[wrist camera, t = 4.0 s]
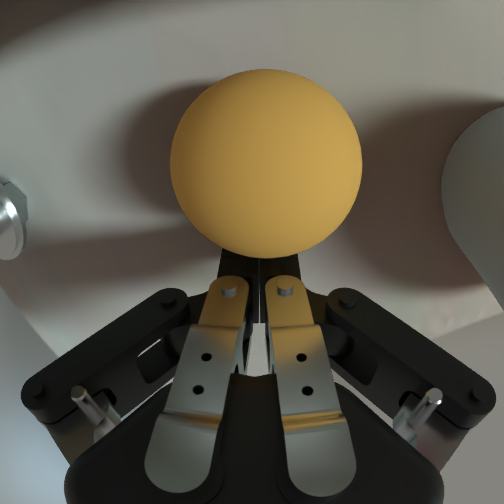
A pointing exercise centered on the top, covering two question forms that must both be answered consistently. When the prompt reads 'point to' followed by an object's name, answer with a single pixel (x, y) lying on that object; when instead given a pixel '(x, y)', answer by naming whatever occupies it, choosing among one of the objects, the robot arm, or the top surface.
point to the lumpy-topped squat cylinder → (478, 197)
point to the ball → (266, 163)
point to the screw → (12, 221)
